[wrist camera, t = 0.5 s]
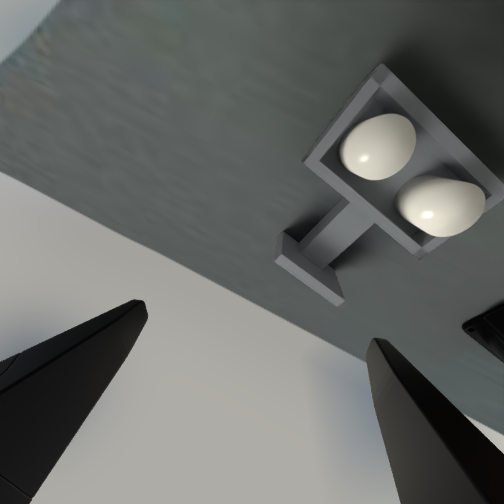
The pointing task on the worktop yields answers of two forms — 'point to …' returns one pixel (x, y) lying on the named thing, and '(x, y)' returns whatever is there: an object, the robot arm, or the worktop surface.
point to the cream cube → (439, 204)
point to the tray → (377, 184)
